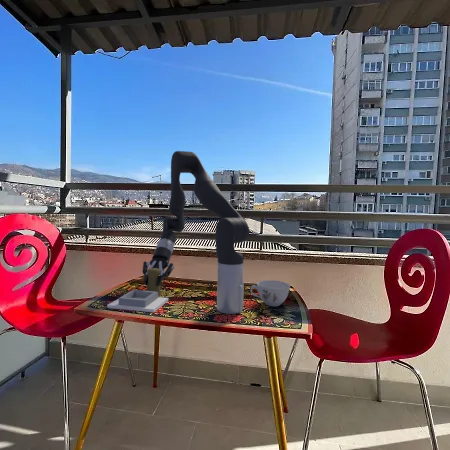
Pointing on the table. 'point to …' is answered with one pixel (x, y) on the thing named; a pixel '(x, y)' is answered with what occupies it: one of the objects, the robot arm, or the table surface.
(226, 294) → the robot arm
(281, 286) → the teacup
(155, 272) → the cork
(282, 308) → the table surface
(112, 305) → the socket board
